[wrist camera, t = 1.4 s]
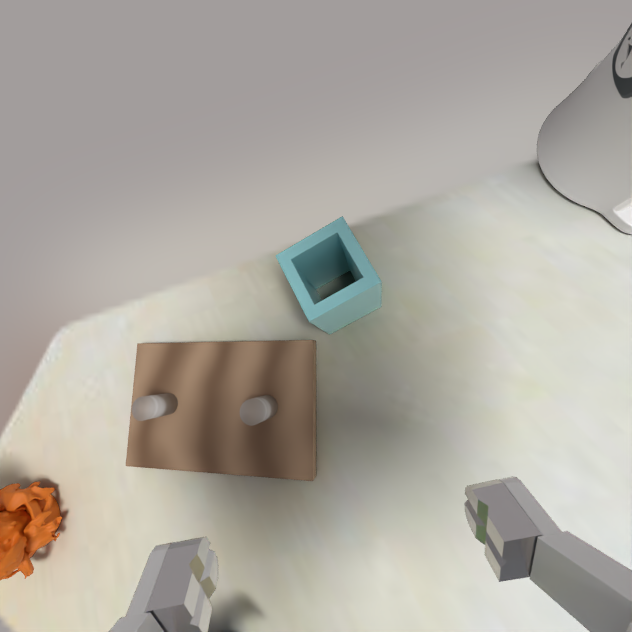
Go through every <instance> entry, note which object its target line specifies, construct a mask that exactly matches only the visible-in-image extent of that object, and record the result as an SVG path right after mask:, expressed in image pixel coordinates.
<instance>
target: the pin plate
mask: <svg viewBox="0 0 632 632" xmlns="http://www.w3.org/2000/svg"><path fill="white" fill-rule="evenodd" d="M126 466H133V467H145V468H157V469H170V470H182V471H195V472H207V473H220V474H232V475H244V476H257V477H269V478H282V479H294V480H306V481H313V480H314V478H315V477H316V341H314V340H289V341H240V342H191V343H142V344H137V355H136V365H135V375H134V385H133V396H132V406H131V416H130V427H129V437H128V447H127V458H126Z"/></svg>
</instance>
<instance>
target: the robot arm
mask: <svg viewBox="0 0 632 632" xmlns="http://www.w3.org/2000/svg"><path fill="white" fill-rule="evenodd" d="M537 156H538V161H539V164H540V167H541V169H542V171H543V173H544V175H545V177H546V178H547V179H548V181H549V182H550V183H551V184H552V185H553V186H554V188H555V189H557V190H558V191H559V192H560V193H561V194H563V195H564V196H566V197H567V198H569V199H570V200H572V201H574V202H576V203H578V204H580V205H583V206H585V207H588V208H590V209H593V210H595V211H597V212H599V213H601V214H602V215H603V216H604V217H605V218H607V219H608V220H609V221H610V222H611V223H612V224H613V225H614V226H615V227H617V228H618V229H619V230H621V231H623V232H625V233H628V234H632V24H631V25H630V27H629V28H628V30H627V32H626V33H625V35H624V37H623V38H622V39H621V40H620V42H619V43H618V44H617V45H616V46H615V47H614V48H613V49H612V50H611V52H610V53H609V54H608V55H607V56H606V57H605V58H604V60H602V61H601V62H599V63H598V64H597V65H596V67H595V68H594V69H593V70H592V71H591V72H590V73H589V75H588V76H587V78H586V79H585V80H584V81H583V82H582V83H581V84H580V85H579V86H578V87H577V88H576V89H575V90H574V91H573V92H572V93H571V94H570V95H569V96H568V97H567V98H566V99H565V100H563V101H562V102H561V103H560V104H559V105H558V106H557V107H556V108H555V109H554V110H553V111H552V112H551V113H550V114H549V116H548V117H547V118H546V120H545V122H544V123H543V125H542V127H541V130H540V132H539V136H538V141H537ZM465 495H466V496H467V498H468V500H467V501H466V502H465V514H466V517H467V521H468V523H469V526H470V528H471V530H472V532H473V534H474V536H475V538H476V539H478V540H479V541H480V542H482V543H483V544H484V545H485V556H486V558H487V560H488V562H489V564H490V566H491V568H492V569H493V571H494V573H495V575H496V577H497V579H498V580H499V582H501V581H507V580H513V579H519V578H526V577H530V580H532V581H533V582H534V583H535V584H536V585H537V586H538V587H540V588H541V589H542V590H543V591H544V592H545V593H546V594H548V595H549V596H550V597H551V598H552V599H553V600H554V601H556V602H557V603H558V604H559V605H560V606H561V607H562V608H564V609H565V610H566V611H567V612H568V613H569V614H570V615H572V616H573V617H574V618H575V619H576V620H577V621H578V622H580V623H581V624H582V625H583V626H584V627H585V628H586V629H588V630H589V631H590V632H632V570H630V569H628V568H627V567H625V566H623V565H622V564H620V563H619V562H617V561H615V560H614V559H612V558H610V557H609V556H607V555H606V554H604V553H602V552H601V551H599V550H597V549H596V548H594V547H593V546H591V545H589V544H588V543H586V542H584V541H583V540H581V539H580V538H578V537H576V536H575V535H573V534H571V533H570V532H568V531H564V532H562V531H561V530H560V529H559V527H558V526H557V525H556V524H555V522H554V521H553V520H552V519H551V517H550V516H549V515H548V514H547V513H546V511H545V510H544V509H543V508H542V506H541V505H540V504H539V503H538V501H537V500H536V499H535V498H534V496H533V495H532V494H531V493H530V492H529V490H528V489H527V488H526V487H525V485H524V484H523V483H522V482H521V480H519V479H518V478H517V477H508V478H504V479H499V480H497V479H496V480H492V481H487V482H482V483H478V484H473V485H469V486H467V487H466V488H465ZM209 546H210V542H209V540H208V538H207V537H201V538H196V539H190V540H185V541H180V542H173V543H168V544H163V545H158V546H155V548H154V549H153V550H152V552H151V553H150V556H149V558H148V561H147V563H146V566H145V568H144V571H143V573H142V576H141V578H140V581H139V584H138V586H137V589H136V591H135V594H134V596H133V599H132V601H131V604H130V606H129V609H128V611H127V614H126V616H125V617H122V618H120V619H119V620H118V621H117V622H116V624H115V625H114V626H113V627H112V628H111V630H110V631H109V632H208V627H209V622H210V617H211V612H212V606H211V603H210V600H209V598H210V597H211V595H212V594H213V592H214V591H215V589H216V586H217V580H218V559H217V556H216V554H215V552H214V551H212V550H210V549H209Z"/></svg>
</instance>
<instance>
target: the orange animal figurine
mask: <svg viewBox="0 0 632 632" xmlns="http://www.w3.org/2000/svg"><path fill="white" fill-rule="evenodd" d="M38 485H40V481H39V482H34V483H32V484H31V485H30V486H29V487H28V488H26V489H19V487H20V484H19V483H17V484H11V485H8V486H6V487H4V488H3V489H0V580H2V579H7V578H9V577H11V576H13V575H14V574H15V573H17V572H19V571H21V572H22V573H23V574H24V575H25V578H26V577H27V576H30V575H31V574H32V573H33V570H34V567H33V565H32V563H31V561H30V558H31V557H32V556H33V554H34V553H35V552H36V550H37V549H39V548H41V547H43V546H45V545H46V544H48V543H49V542H51V541H52V540H54V541H56V539H57V538H58V537H59V535H60V533H58V534H57V536H55V532H56V530H57V528H58V527H59V524H60V522H61V519H62V517H60V510H59V506H58V503H57V501H56V500H55V498H54V497H53V496H52V495H51V493H52V492H53V491H54V489H55V488H53V487H52V488H46V487H45V488H40V487H37V486H38ZM17 568H18V570H16V571H14V570H15V569H17ZM13 571H14V572H13Z"/></svg>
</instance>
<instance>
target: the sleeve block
mask: <svg viewBox="0 0 632 632" xmlns="http://www.w3.org/2000/svg"><path fill="white" fill-rule="evenodd" d="M276 258H277V260H278V262H279V264H280V266H281V268H282V270H283V272H284V274H285V276H286V278H287V280H288V282H289V284H290V286H291V288H292V289H293V291H294V293H295V295H296V297H297V299H298V301H299V303H300V305H301V307H302V309H303V311H304V313H305V315H306V317H307V319H308V321H309V322H310V323H312V324H313V325H315V326H317V327H318V328H320V329H322V330H323V331H325V332H326V333H328V334H332V333H334V332H336V331H338V330H339V329H341V328H343V327H345V326H347V325H349V324H350V323H352V322H354V321H356V320H358V319H360V318H362V317H363V316H365V315H367V314H369V313H371V312H373V311H374V310H376V309H378V308H380V307H381V294H382V282H381V280H380V278H379V277H378V275H377V273H376V272H375V270H374V268H373V267H372V265H371V263H370V262H369V260H368V258H367V257H366V255H365V253H364V251H363V250H362V248H361V246H360V245H359V243H358V241H357V240H356V238H355V236H354V235H353V233H352V231H351V230H350V228H349V226H348V225H347V223H346V221H345V220H344V218H343V217H340V218H339V219H337V220H335V221H334V222H332V223H330V224H329V225H327V226H325V227H323V228H322V229H320V230H318V231H317V232H315V233H313V234H312V235H310V236H308V237H306V238H305V239H303V240H301V241H300V242H298V243H296V244H294V245H293V246H291V247H289V248H288V249H286V250H284V251H283V252H281V253H279V254H277V255H276ZM348 271H350V272H351V273H352V275H353V277H354V278H355V280H356V282H354V283H353V284H351V285H349V286H347V287H345V288H344V289H342V290H340V291H338V292H336V293H335V294H333V295H331V296H329V297H327V298H326V299H324V300H321V298H320V296H319V294H318V292H317V290H316V289H318V288H319V287H321V286H323V285H325V284H327V283H328V282H330V281H332V280H334V279H335V278H337V277H339V276H341V275H342V274H344V273H346V272H348Z"/></svg>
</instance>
